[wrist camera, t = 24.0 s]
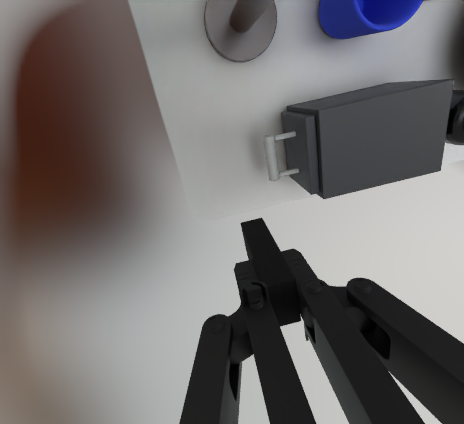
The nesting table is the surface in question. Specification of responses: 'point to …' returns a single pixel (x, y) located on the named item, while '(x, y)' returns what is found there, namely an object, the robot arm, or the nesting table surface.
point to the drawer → (296, 151)
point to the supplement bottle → (456, 119)
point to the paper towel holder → (240, 27)
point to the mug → (364, 16)
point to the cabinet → (379, 134)
